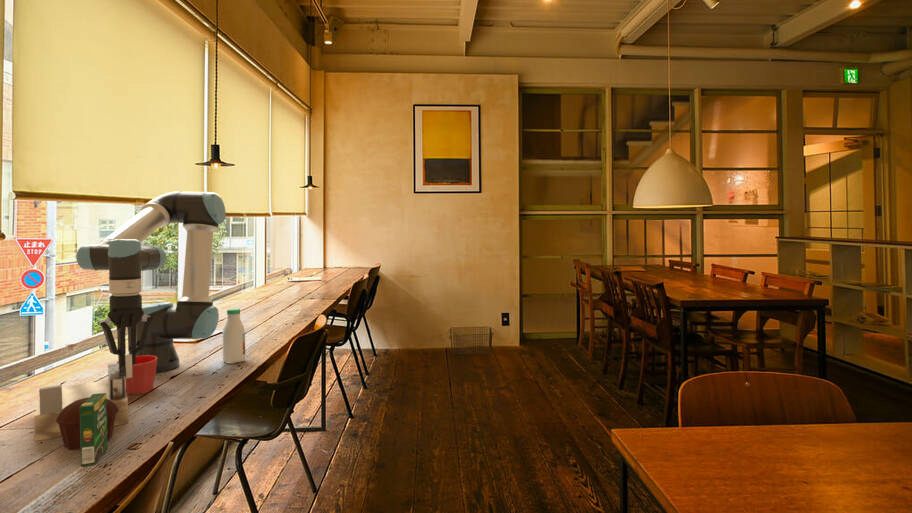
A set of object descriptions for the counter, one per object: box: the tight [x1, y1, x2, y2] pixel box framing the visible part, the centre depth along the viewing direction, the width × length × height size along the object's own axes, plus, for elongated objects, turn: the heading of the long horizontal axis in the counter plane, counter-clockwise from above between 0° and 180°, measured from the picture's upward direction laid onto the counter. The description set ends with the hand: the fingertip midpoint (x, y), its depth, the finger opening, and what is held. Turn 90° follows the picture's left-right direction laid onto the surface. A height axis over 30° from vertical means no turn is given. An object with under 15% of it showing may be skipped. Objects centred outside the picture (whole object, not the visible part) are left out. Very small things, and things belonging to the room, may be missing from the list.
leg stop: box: [39, 384, 63, 415], centre depth 114 cm, size 4×2×6 cm, turn 127°
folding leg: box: [107, 363, 127, 399], centre depth 130 cm, size 18×4×5 cm, turn 38°
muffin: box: [56, 397, 119, 451], centre depth 112 cm, size 12×11×10 cm
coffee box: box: [80, 393, 109, 467], centre depth 104 cm, size 8×3×13 cm, turn 20°
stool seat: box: [34, 379, 129, 442], centre depth 127 cm, size 18×23×6 cm
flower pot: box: [116, 355, 157, 395], centre depth 148 cm, size 11×11×10 cm
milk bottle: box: [222, 308, 246, 363], centre depth 182 cm, size 8×8×20 cm
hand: (127, 376), depth 136 cm, fingers closed
